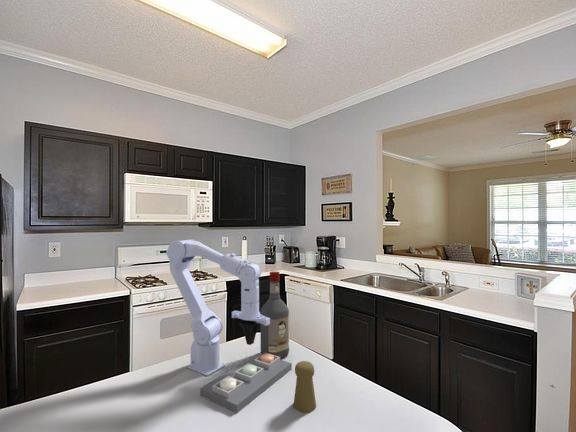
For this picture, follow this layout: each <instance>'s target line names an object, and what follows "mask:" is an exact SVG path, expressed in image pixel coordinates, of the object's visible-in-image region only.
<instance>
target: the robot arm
mask: <svg viewBox="0 0 576 432" xmlns="http://www.w3.org/2000/svg"><path fill="white" fill-rule="evenodd" d="M165 254H166V255H167V259H168V261H169V271H170V274H171V276H172V278H173V280H174V282H175V284H176V286H177V288H178V290H179V292H180V294H181V296H182V299H183V300H184V303H185V305H186V306H187V309H188V310H189V312H190V315H191V316H192V321H191V324H190V327H191V330H192V337H193V341H192V343H191V346H190V365H189V366H188V369H190V370H192V371H194V372H196V373H199V374H202V375H205V376H207V377H208V376H210V375H211V374H213V373H216V372H217V371H218V370H220V369H222V368H224V367H225V366H226V363H223V362H221V361H220V353H221V352H220V341H221V340H220V334H221V333H222V331H223V328H224V325H223V322H222V320H221V319H220V318H219V317H218V316H217V314H215V311H213V310H211V309H209V307H208V305H207V303H206V301H205V300H204V298H203V296H202V294H201V291H200V290H199V288H198V286H197V284H196V282H195V280H194V277H193V275H192V273H191V271H190V270H189V267H190V265H191V262H192V261H193V260H194V259H195V257H201V258H203V259H205V260H208V261H210V262H212V263H216V264H218V265H219V267H220V270H222V271H224V272H225V273H228V274H230V275H231V276H234V277H237V278H238V280H239V281H240V284H241V287H240V290H241V291H240V294H241V295H240V298H241V299H240V301H241V302H240V303H241V305H240V307H241V308H240V310H233V311H231V319H240V320H241V321H240V322H239V326H240V328H241V329H242V332H243V335H244V338H245V342H246V345H249V346H251V345H253V344H254V343H255V340H256V335H257V332H258V330H259V328H260V324H264V325H265V326H267V325H269V324H270V318H268V317H265V316H263V315H261V314H260V279H259V278H260V277H261V275H262V269H261V266H260V265H259V264H257V263H256V262H249V260H247V259H242V258H240V257H238V256H237V254H236V253H227V254H223V253H221V252H219V251H217V250H215V249H213V248H211V247H209V246H207V245H206V244H204V243H202V242H201V241H198V240H195V239H193V238H189V239H183V240H174V241H171V243H169V245H168V248H167V250H166V252H165Z"/></svg>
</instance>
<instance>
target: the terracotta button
mask: <svg viewBox="0 0 576 432" xmlns="http://www.w3.org/2000/svg"><path fill="white" fill-rule="evenodd" d="M261 361H262V362H265V363H268V364H269V363H271V362H272V361H274V356H273V355H272V354H264V355H262V356H261Z"/></svg>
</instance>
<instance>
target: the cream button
mask: <svg viewBox="0 0 576 432" xmlns="http://www.w3.org/2000/svg"><path fill="white" fill-rule="evenodd" d="M234 387H236V380H235V379H233V378H226V379H224V380H222V381H221V382H220V388H221V389H224V390H226V391H230V390H231V389H233V388H234Z"/></svg>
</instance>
